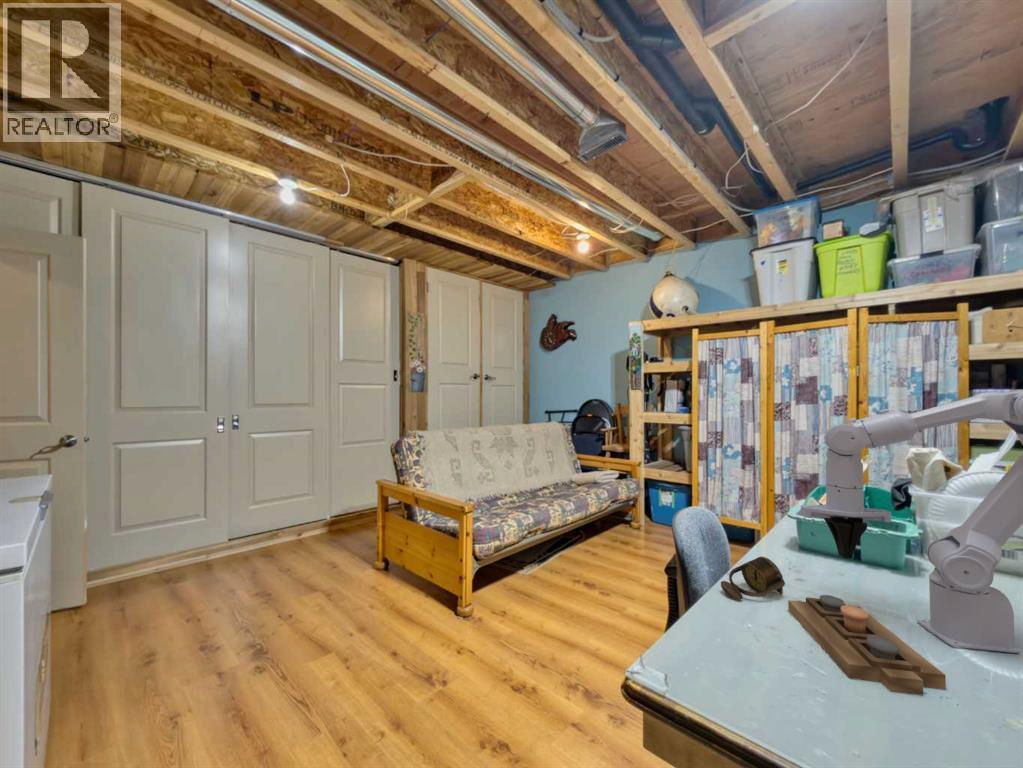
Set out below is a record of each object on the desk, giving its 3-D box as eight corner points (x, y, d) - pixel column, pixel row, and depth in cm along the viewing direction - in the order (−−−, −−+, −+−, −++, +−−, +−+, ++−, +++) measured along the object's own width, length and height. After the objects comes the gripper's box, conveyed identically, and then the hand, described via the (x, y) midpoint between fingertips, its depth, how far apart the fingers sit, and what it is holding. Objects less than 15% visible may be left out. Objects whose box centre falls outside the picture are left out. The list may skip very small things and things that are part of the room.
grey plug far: (837, 614, 79) (837, 595, 79) (848, 624, 75) (848, 605, 76) (816, 612, 80) (815, 594, 80) (826, 622, 76) (825, 603, 76)
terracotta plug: (860, 626, 72) (860, 606, 72) (874, 638, 69) (873, 617, 69) (836, 624, 73) (836, 604, 73) (848, 635, 69) (848, 614, 69)
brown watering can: (800, 579, 84) (773, 550, 93) (734, 571, 84) (714, 543, 94) (792, 611, 85) (766, 579, 95) (727, 603, 86) (708, 572, 95)
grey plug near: (888, 660, 65) (887, 637, 65) (905, 675, 62) (904, 651, 62) (861, 657, 66) (861, 634, 66) (876, 671, 62) (876, 648, 63)
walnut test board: (853, 612, 81) (852, 597, 81) (957, 699, 58) (957, 678, 58) (784, 605, 84) (783, 591, 84) (857, 687, 60) (857, 666, 60)
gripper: (873, 483, 85) (875, 552, 84) (793, 480, 88) (794, 546, 87) (898, 491, 78) (899, 566, 77) (810, 487, 81) (811, 559, 80)
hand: (845, 556), depth 82 cm, fingers closed
